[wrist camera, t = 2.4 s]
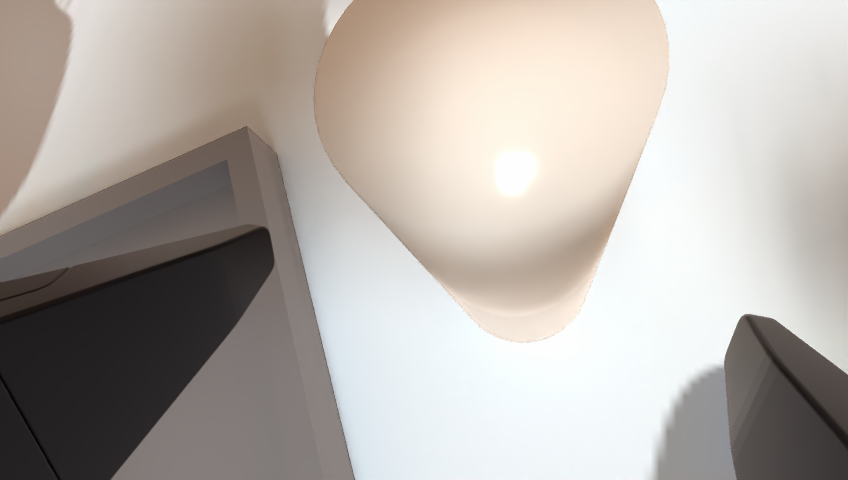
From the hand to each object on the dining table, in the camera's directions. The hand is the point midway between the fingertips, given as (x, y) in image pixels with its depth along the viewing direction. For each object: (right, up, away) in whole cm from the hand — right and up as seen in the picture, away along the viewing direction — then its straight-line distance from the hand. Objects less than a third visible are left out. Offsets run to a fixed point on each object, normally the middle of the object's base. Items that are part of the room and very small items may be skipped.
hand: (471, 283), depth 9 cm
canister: (+3, -1, +10) cm, 10 cm away
